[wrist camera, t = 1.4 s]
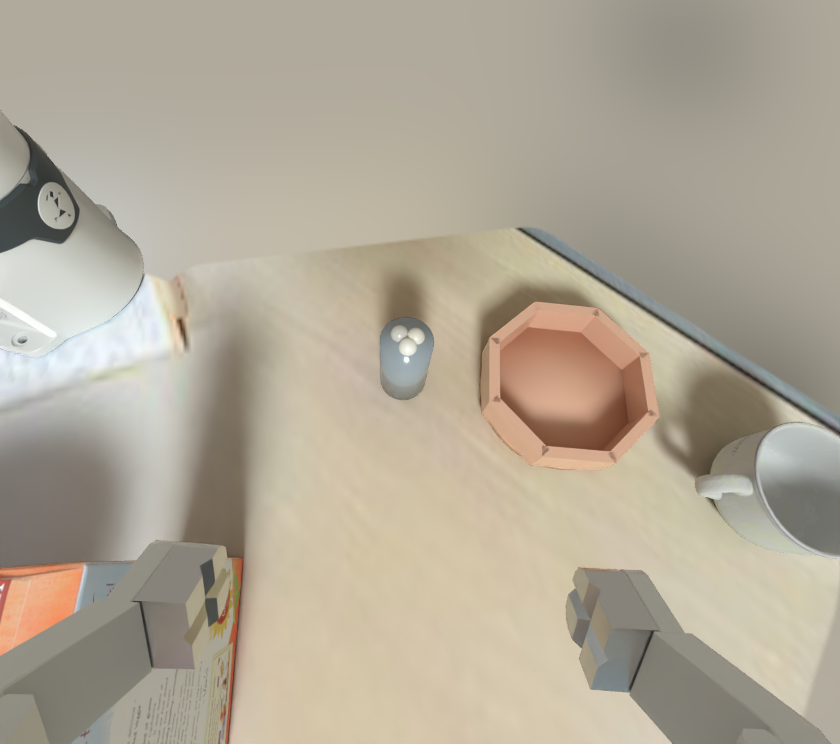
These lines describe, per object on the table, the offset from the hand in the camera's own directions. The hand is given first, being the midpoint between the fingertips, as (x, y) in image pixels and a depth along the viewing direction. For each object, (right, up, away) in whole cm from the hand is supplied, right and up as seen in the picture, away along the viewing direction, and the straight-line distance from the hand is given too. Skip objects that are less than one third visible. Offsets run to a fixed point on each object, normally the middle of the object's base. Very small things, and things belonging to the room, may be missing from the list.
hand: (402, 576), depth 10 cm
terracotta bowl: (+15, +3, +35) cm, 38 cm away
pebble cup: (-1, +4, +34) cm, 34 cm away
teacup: (+31, -7, +32) cm, 45 cm away
